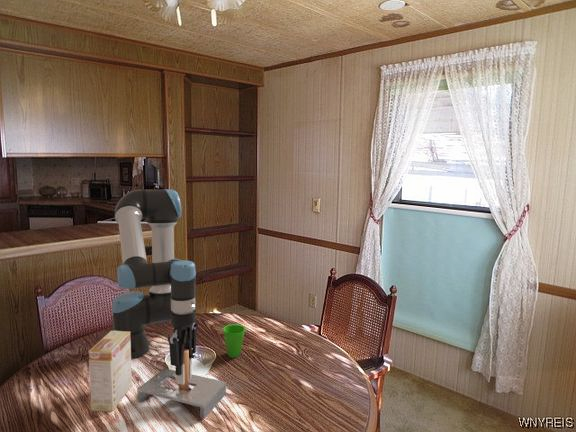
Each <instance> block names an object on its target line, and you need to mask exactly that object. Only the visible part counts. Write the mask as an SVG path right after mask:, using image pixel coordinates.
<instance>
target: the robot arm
mask: <svg viewBox="0 0 576 432" xmlns="http://www.w3.org/2000/svg"><path fill="white" fill-rule="evenodd" d="M181 217H182V204H181V199H180V196H179V194H178V192H177V191H176V190H174V189H166V188H164V189H161V188H160V189H133V190H131V191H129V192H127V193H125V194H124V195H123V196H122V197H121V198H120V199H119V201H117V204H116V206H115V209H114V220H115V222H116V223H117V224H118V231H119V241H120V247H121V249H120V251H121V259H122V265H121V264H120V265H118V266H117V269H116V270H117V271H116V272H117V273H116V274H117V287H118V288H119V289H122V290H128V289H131V290H133V289H139V288H148V287H150V288H149V291H148V294H145V293H144V292H142V291H140V290H137V291H136V290H133V291H128V292H127V291H126V292H124V293H121V294H120V295H118V296H115V298H114V299H113V300H112V308H111V313H112V331H128V332H130V339H131V360H134V359H136V358H139V357H143V356H144V355H146V354H147V353H148V352H149V351H150V341H149V339H148V337H147V334H146V331H145V326H146V325H152V324H159V323H160V324H161V323H167V322H168V323H170V322H171V324H172V325H173V331H172V333H173V334H172V335H171V336H168V338H167V341H168V344H169V359H170V366H173V367H175V368H174V369H175V371H176V379H175V383H176V384H178V385H179V384H182V385H184V384H185V364H183V355H184V349H188V350H189V379H190V378H191V374H192V363H193V362H192V359H195V357H196V356H195V353H196V351H197V335H198V334H197V330H198V325H199V324H198V323H196V318H197V317H196V313H197V312H196V277H197V270H196V264H195V262H194V261H191V260H188V259H187V260H185V259H184V260H183V259H182V260H181V259H180V258H175V233H174V231H175V229H174V228H175V226H176V225H177V223H178V219H180V218H181ZM142 220H146V222H147V224H148V225H149V227H150V228H151V247H152V248H151V256H152V258H151V259H152V262H149V263H148V260H147V253H146V247H145V246H146V245H145V241H144V240H145V239H144V236H143V229H142V223H141V221H142Z"/></svg>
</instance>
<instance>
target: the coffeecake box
mask: <svg viewBox="0 0 576 432" xmlns="http://www.w3.org/2000/svg"><path fill="white" fill-rule="evenodd" d="M88 364H89V365H88V368H89V383H90V385H89V386H90V388H89V389H90V406H91V407H90V410H91V411H92V412H111V413H112V412H114V410H115V409H116V407H117V406H118V405H119V403H120V402H121V401H122V399H123V398H124V397H125V395H126V394H128V393H127V392H128V391H129V390H130V389H131V388H132V386H133V377H132V376H133V375H132V359H131V339H130V332H128V331H113V330H110V331H108V333H107V334H106V335H104V336H103V338H101V340H99V341H98V342H97V343H96V344H95V345H94V346H93V347H91V348H90V349H89V350H88Z"/></svg>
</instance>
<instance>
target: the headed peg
mask: <svg viewBox="0 0 576 432" xmlns="http://www.w3.org/2000/svg"><path fill="white" fill-rule="evenodd" d="M183 364H185V384H184V385H182V384H178V389H181V390H185V391H191V390H192V389H193V388H191V387H190V385H189V350H188V349H184V355H183Z"/></svg>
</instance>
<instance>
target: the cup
mask: <svg viewBox="0 0 576 432" xmlns="http://www.w3.org/2000/svg"><path fill="white" fill-rule="evenodd" d="M246 330H247V328H246V327H245V326H244V325H243V324H238V323H236V324H235V323H233V324H227V325H225V326H224V327H223V328H222V332H223V334H224V335H223V336H224V341H225V348H226V354H227V357H229V358H232V359H236V358H238V357H240V355H241V353H242V348H243V342H244V338H245V337H244V336H245V331H246Z"/></svg>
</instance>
